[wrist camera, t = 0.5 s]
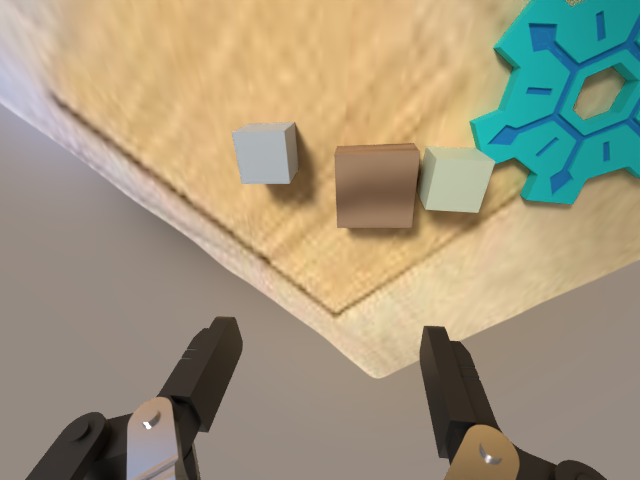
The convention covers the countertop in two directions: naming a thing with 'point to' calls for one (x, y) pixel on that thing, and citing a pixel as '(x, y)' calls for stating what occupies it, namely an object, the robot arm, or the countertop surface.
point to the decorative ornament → (566, 96)
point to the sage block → (454, 178)
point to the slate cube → (266, 153)
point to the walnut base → (376, 185)
